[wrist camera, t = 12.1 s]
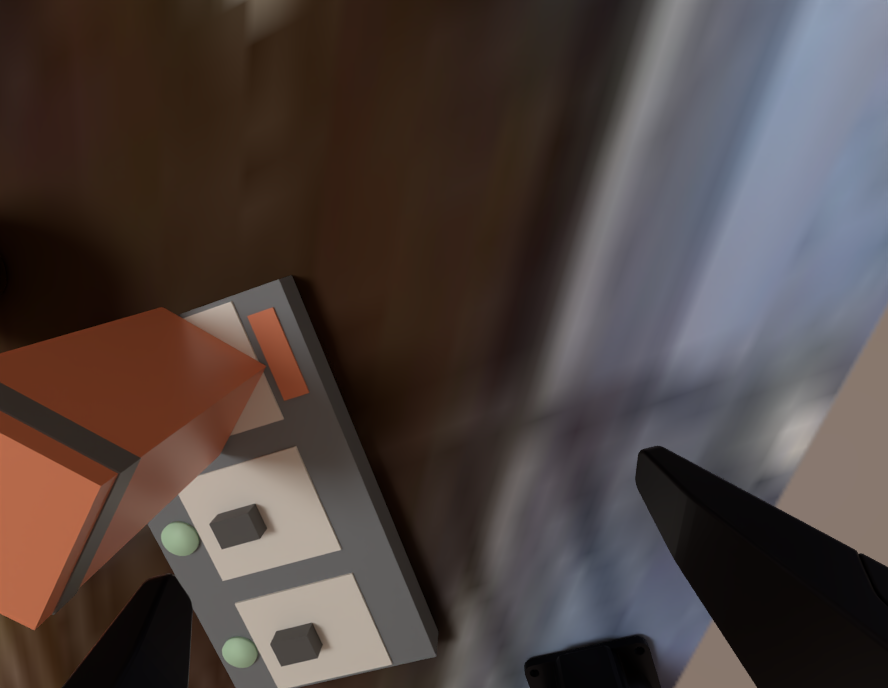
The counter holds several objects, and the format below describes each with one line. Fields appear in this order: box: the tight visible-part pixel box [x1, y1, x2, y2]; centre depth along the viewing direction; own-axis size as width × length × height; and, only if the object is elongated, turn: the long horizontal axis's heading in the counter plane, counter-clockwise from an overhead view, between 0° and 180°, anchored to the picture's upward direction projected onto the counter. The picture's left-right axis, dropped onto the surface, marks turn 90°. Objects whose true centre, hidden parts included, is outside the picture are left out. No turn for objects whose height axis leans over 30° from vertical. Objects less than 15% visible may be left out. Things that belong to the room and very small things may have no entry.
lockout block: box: [0, 307, 266, 630], centre depth 17 cm, size 5×5×10 cm
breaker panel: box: [148, 275, 439, 688], centre depth 24 cm, size 20×11×2 cm, turn 19°
